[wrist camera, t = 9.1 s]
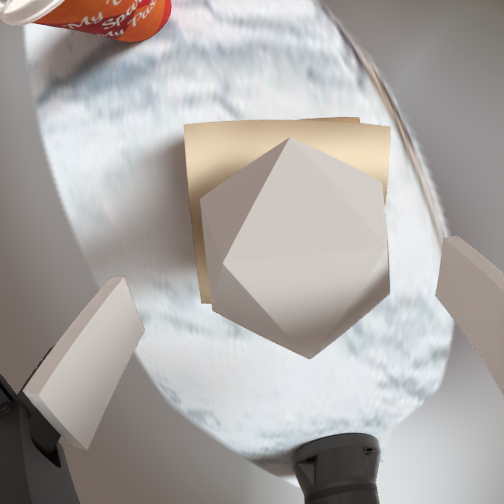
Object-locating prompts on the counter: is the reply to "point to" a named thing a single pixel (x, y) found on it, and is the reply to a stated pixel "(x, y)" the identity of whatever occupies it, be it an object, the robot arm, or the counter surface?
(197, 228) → the tower top slab
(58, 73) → the counter surface
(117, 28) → the paper cup
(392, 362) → the counter surface
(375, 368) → the counter surface
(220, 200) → the die
